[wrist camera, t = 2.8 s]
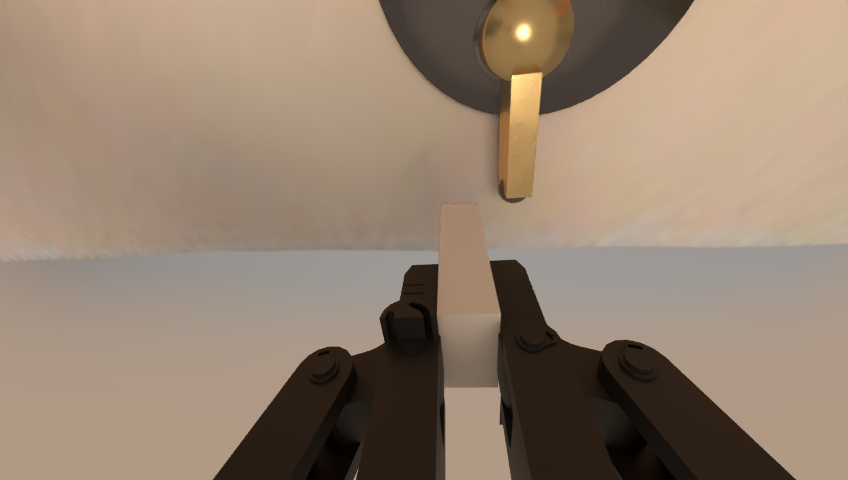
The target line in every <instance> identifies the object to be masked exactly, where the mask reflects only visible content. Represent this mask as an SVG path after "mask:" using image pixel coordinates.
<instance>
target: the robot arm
mask: <svg viewBox="0 0 848 480" xmlns="http://www.w3.org/2000/svg"><path fill="white" fill-rule="evenodd" d="M380 323H381V327H382V332H383V336H384V341H385V343H384V344H382V345H380V346H379V347H377V348H375V349H373V350H370V351H367V352H364V353H361V354H357V355H354V356H351V355H350V354H349V353H348V351H347V350H345V349H343V348H341V347H326V348H323V349H319V350H317V351H316V352H314V353H312V354H311V355H309V356H308V357H307V358H306V359H305V360H304V361H303V362H302V363H301V364H300V365H299V366H298V367H297V369H296V370H295V372H294V373H293V374H292V375H291V377H290V378H289V379H288V381H287V382H286V383H285V385H284V386H283V387H282V389H281V390H280V391H279V393H278V394H277V395H276V397H275V398H274V399H273V401H272V402H271V403H270V405H269V406H268V407H267V409H266V410H265V411H264V413H263V414H262V415H261V417H260V418H259V419H258V421H257V422H256V423H255V425H254V426H253V427H252V429H251V430H250V431H249V432H248V434H247V435H246V436H245V438H244V439H243V440H242V442H241V443H240V445H239V446H238V447H237V449H236V450H235V451H234V452H233V454H232V455H231V457H230V458H229V459H228V460H227V462H226V463H225V464H224V466H223V467H222V468H221V470H220V471H219V472H218V474H217V475H216V476H215V478H214V479H213V480H353V479H354V477H355V475H356V472H357V470H358V473H357V478H356V480H445V402H444V387H498V380H499V386H500V393H501V403H500V425H501V424H502V425H503V428H504V434H505V441H506V447H507V454H508V460H509V467H510V473H511V479H512V480H796V479H795V478H793V477H792V476H791V475H790V474H789V473H788V472H787V471H786V470H785V469H784V468H783V467H782V466H781V465H780V464H779V463H778V462H777V461H776V460H774V459H773V458H772V457H771V456H770V455H769V454H768V453H767V452H766V451H765V450H764V449H763V448H762V447H761V446H759V444H757V443H756V442H755V441H754V440H753V439H752V438H751V437H750V436H749V435H748V434H747V433H746V432H745V431H744V430H742V429H741V428H740V427H739V426H738V425H737V424H736V423H735V422H734V421H733V420H732V419H731V418H730V417H729V416H728V415H727V414H726V413H724V412H723V411H722V410H721V409H720V408H719V407H718V406H717V405H716V404H715V403H714V402H713V401H712V400H711V399H710V398H709V397H707V396H706V395H705V394H704V393H703V392H702V391H701V390H700V389H699V388H698V387H697V386H696V385H695V384H693V382H691V381H690V380H689V379H688V378H687V377H686V376H685V375H684V374H683V373H682V372H681V371H680V370H679V369H678V368H677V367H676V366H674V365H673V364H672V363H671V362H670V361H669V360H668V359H667V358H666V357H665V356H663V355H662V354H660V353H659V352H658V351H656V350H655V349H653V348H651V347H649V346H647V345H644V344H642V343H639V342H635V341H630V340H617V341H616V340H615V341H613V342H611V343H609V344H607V345H606V346H605V348H604V349H603V351H597V350H593V349H589V348H584V347H580V346H577V345H574V344H570V343H568V342H566V341H564V340H562V339H561V338H560V337H559V335H558V334H557V333H556V331H555V330H553V329H552V328H550V327H549V326H548V325H547V324H546V321H545V319H544V316H543V314H542V311H541V308H540V306H539V303H538V301H537V298H536V295H535V293H534V291H533V289H532V285H531V283H530V281H529V277H528V275H527V273H526V270H525V268H524V267H523V266H522V265H521V264H520V263H518V262H517V261H516V260H500V261H489V258H488V253H487V248H486V244H485V239H484V235H483V230H482V226H481V221H480V217H479V212H478V207H477V203H469V204H453V205H441V210H440V239H439V264H432V265H412V266H411V267H410V269H409V270H408V271H407V272H406V273H405V276H404V281H403V287H402V292H401V296H400V300H399V301H397V302H395V303H393V304H391V305H389V306H388V307H387V308H386V309H385V310H384V311H383V313H382V314H381V316H380ZM358 467H359V468H358Z"/></svg>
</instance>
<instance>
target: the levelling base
mask: <svg viewBox="0 0 848 480" xmlns="http://www.w3.org/2000/svg"><path fill="white" fill-rule="evenodd" d="M379 1H380V4H381V7H382V9H383V11H384V14H385V16H386V19H387V21H388V23H389V26H390V28H391V30H392V31H393V33H394V35H395V37H396V39H397V40H398V42H399V44H400V46H401V47H402V49H403V50H404V52H405V53H406V54H407V56H408V57H409V59H410V60H411V61H412V63H413V64H414V65H415V66H416V67H417V68H418V70H419V71H420V72H421V73H422V74H423V75H424V76H425V77H426V78H427V79H428V80H429V81H430V82H431V83H433V84H434V85H435V86H436V87H437V88H439V89H440V90H441V91H442V92H444V93H445V94H447V95H449V96H450V97H452V98H454V99H455V100H457V101H458V102H460V103H463V104H465V105H467V106H470V107H472V108H474V109H477V110H481V111H485V112H488V113H492V114H498V115H500V92H501V78H499V77H497V76H495V75H493V74H492V73H491V72H489V71H488V69H487V68H486V67H485V66H484V64H483V62H482V60H481V58H480V54H479V49H478V35H479V30H480V26H481V24H482V21H483V19H484V17H485V15H486V14H487V12H488V11H489V9H490V8H491V7H492V6H493V5H494V4H495V3H496V1H497V0H379ZM693 1H694V0H570V2H571V5H572V8H573V13H574V31H573V37H572V40H571V43H570V46H569V48H568V50H567V52H566V54H565V56H564V57H563V59H562V60H561V62H560V63H559V64H558V65H557V67H556V68H555V69H553V70H552V71H551V72H550V73H549V74H547V75H546V76H544V77H543V78H542V83H541V95H540V107H539V114H545V113H551V112H554V111H558V110H561V109H565V108H568V107H571V106H573V105H576V104H578V103H580V102H583V101H585V100H587V99H590V98H591V97H593V96H595V95H597V94H598V93H600V92H602V91H604V90H606V89H607V88H609V87H610V86H612V85H613V84H615V83H616V82H618V81H619V80H620V79H622V78H623V77H625V76H626V75H627V74H629V73H630V72H631V71H632V70H633V69H634V68H636V67H637V66H638V65H639V64H640V63H641V62H643V61H644V60H645V59H646V58H647V57H648V56H649V55H650V54H651V53H652V52H653V51H654V50H655V49H656V48H657V47H658V46H659V45H660V44H661V43H662V41H663V40H664V39H665V38H666V37H667V36H668V35H669V34H670V32H671V31H672V30H673V29H674V27H675V26H676V25H677V23H678V22H679V21H680V20H681V18H682V17H683V16H684V15H685V13H686V12H687V10H688V9H689V7H690V6H691V4H692V3H693Z"/></svg>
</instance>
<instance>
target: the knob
mask: <svg viewBox="0 0 848 480" xmlns="http://www.w3.org/2000/svg"><path fill="white" fill-rule="evenodd" d="M573 31H574V13H573V8H572V5H571V2H570V0H497V1H496V3H495V4H494V5H493V6H492V7H491V8H490V9H489V11H488V12H487V14H486V15H485V17H484V19H483V21H482V24H481V26H480V30H479V35H478V49H479V54H480V58H481V60H482V62H483V64H484V66H485V67H486V68H487V69H488V71H489V72H491V73H492V74H493V75H495V76H497V77H499V78H501V92H500V130H499V168H498V181H499V185H498V192H499V195H500V196H501V198H502V199H503V200H504V201H506V202H509V203H518V202H521V201H522V200H524V199H525V198H526V197H532V189H533V178H534V166H535V154H536V142H537V130H538V118H539V107H540V95H541V83H542V78H543V77H544V76H546V75H547V74H549V73H550V72H551V71H552V70H553V69H555V68H556V67H557V65H558V64H559V63H560V62H561V60H562V59H563V57H564V56H565V54H566V52H567V50H568V48H569V46H570V43H571V40H572V37H573Z"/></svg>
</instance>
